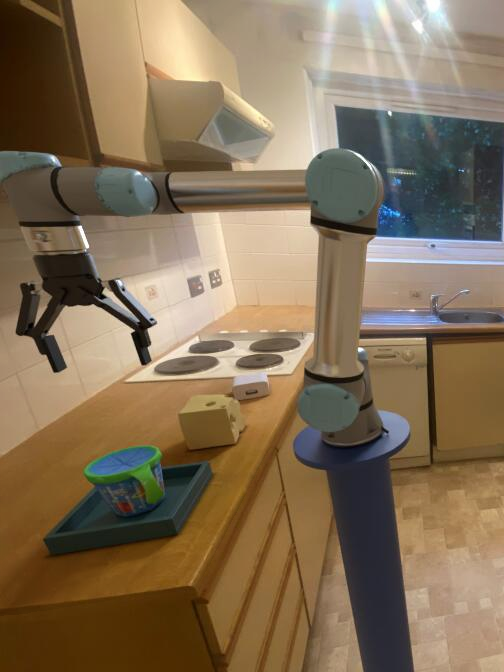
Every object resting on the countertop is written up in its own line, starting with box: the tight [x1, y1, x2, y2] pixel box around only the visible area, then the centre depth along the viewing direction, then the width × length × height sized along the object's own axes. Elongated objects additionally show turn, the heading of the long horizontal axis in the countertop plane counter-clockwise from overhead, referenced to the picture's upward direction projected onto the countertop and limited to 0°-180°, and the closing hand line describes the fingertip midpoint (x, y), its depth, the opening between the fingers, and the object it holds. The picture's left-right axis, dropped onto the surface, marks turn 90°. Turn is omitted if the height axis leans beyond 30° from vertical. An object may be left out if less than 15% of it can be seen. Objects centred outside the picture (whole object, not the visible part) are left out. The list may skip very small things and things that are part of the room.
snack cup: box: [83, 445, 165, 517], centre depth 80 cm, size 16×10×10 cm
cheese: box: [177, 393, 247, 451], centre depth 106 cm, size 10×11×10 cm
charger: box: [231, 371, 271, 401], centre depth 135 cm, size 5×9×15 cm
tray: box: [42, 460, 214, 556], centre depth 82 cm, size 18×19×4 cm
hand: (104, 366), depth 83 cm, fingers open, 13 cm apart
